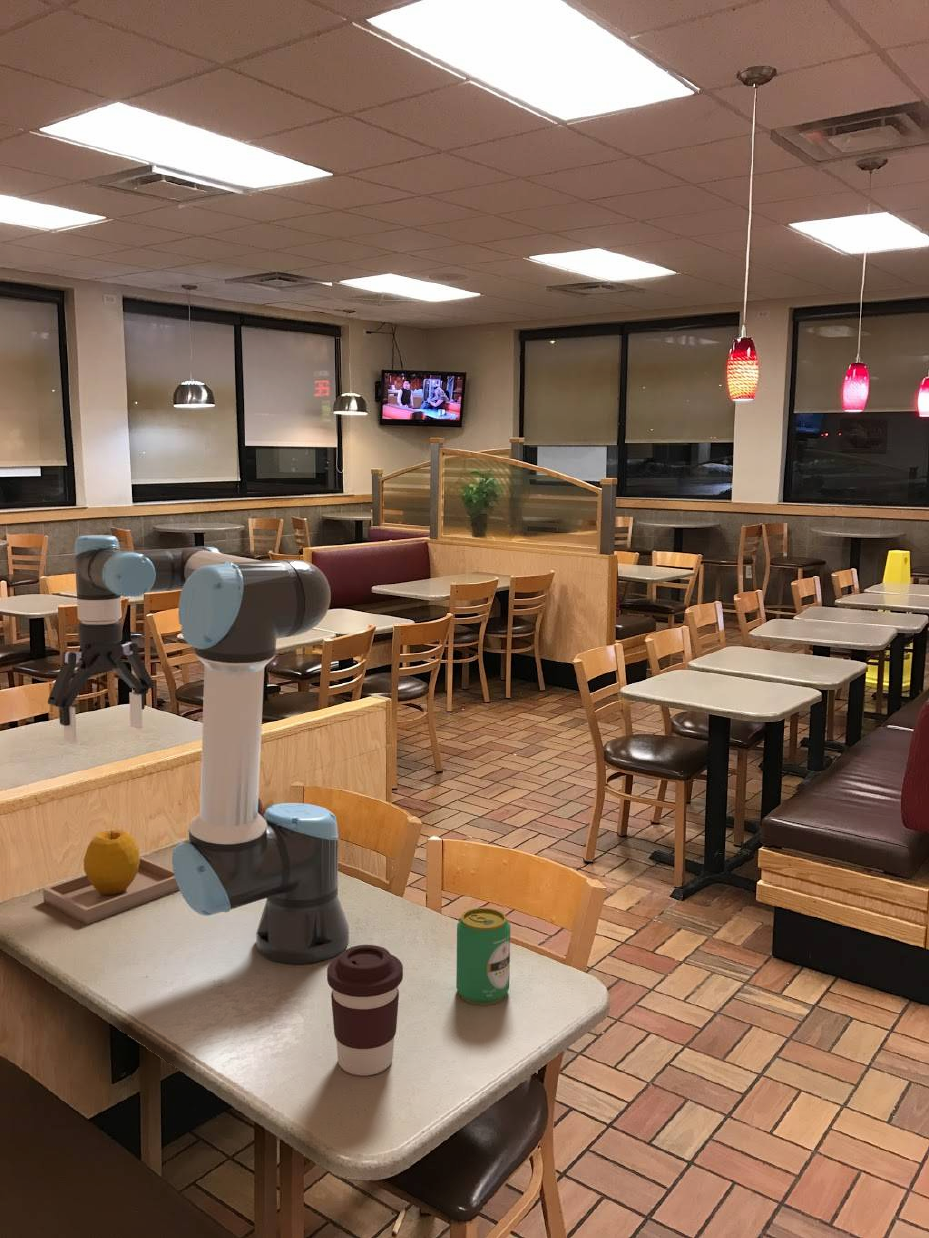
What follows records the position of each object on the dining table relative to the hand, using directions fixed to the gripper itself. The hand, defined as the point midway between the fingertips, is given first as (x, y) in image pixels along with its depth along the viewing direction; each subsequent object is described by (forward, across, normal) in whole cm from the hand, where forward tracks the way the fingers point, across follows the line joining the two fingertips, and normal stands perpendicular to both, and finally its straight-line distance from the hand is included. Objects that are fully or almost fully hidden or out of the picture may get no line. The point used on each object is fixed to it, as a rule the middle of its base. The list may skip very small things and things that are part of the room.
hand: (104, 734), depth 187 cm
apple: (+28, +3, +6) cm, 29 cm away
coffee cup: (+28, +12, +77) cm, 83 cm away
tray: (+29, +3, +6) cm, 29 cm away
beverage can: (+28, -12, +79) cm, 85 cm away
